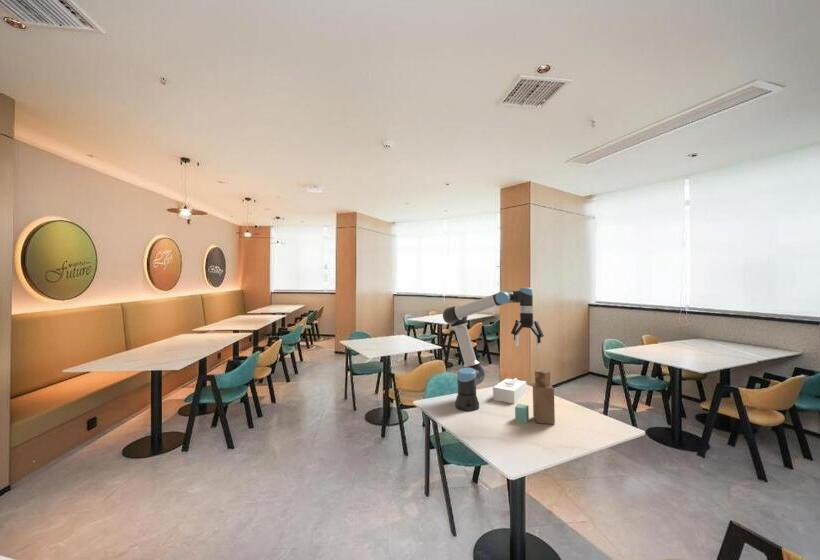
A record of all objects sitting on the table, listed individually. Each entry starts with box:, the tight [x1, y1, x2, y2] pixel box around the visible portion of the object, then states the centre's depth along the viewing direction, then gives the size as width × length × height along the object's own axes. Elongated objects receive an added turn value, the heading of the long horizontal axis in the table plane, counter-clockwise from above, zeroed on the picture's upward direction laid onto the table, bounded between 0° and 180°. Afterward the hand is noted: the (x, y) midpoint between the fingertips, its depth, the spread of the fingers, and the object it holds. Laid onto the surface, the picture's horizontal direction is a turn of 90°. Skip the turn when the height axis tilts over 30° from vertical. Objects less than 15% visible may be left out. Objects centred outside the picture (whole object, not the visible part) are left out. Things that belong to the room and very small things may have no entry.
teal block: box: [514, 403, 530, 424], centre depth 188 cm, size 6×6×8 cm
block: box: [532, 382, 556, 425], centre depth 187 cm, size 10×10×20 cm
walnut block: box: [534, 368, 551, 387], centre depth 188 cm, size 6×6×8 cm
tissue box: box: [492, 377, 527, 405], centre depth 228 cm, size 14×25×11 cm, turn 144°
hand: (527, 347), depth 204 cm, fingers open, 13 cm apart
